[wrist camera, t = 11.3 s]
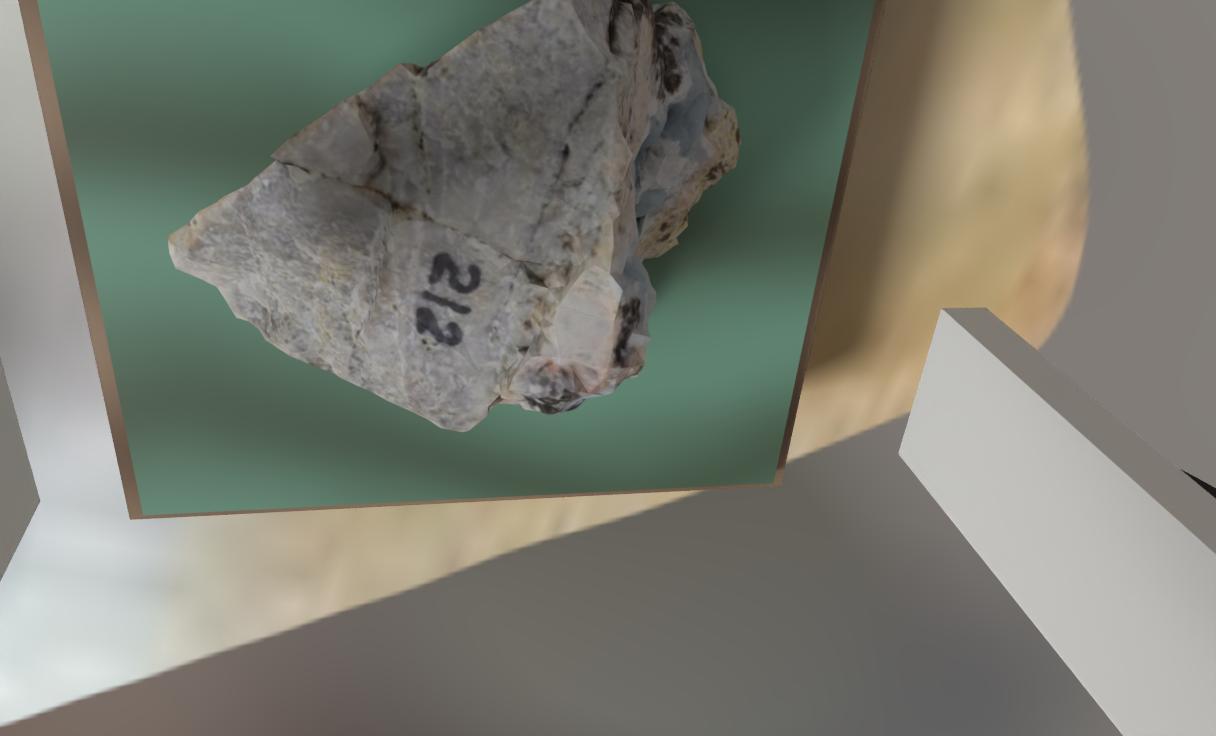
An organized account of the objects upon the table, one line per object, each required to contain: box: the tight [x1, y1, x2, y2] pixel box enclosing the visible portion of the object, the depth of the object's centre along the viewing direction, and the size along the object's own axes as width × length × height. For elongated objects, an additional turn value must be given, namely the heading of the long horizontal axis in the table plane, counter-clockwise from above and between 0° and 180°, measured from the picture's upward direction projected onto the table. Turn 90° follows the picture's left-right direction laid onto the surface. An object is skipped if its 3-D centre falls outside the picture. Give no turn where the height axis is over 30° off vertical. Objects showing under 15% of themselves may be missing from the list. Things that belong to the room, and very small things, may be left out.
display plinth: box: [18, 0, 886, 520], centre depth 23 cm, size 18×18×5 cm
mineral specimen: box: [168, 0, 741, 432], centre depth 19 cm, size 10×8×10 cm
